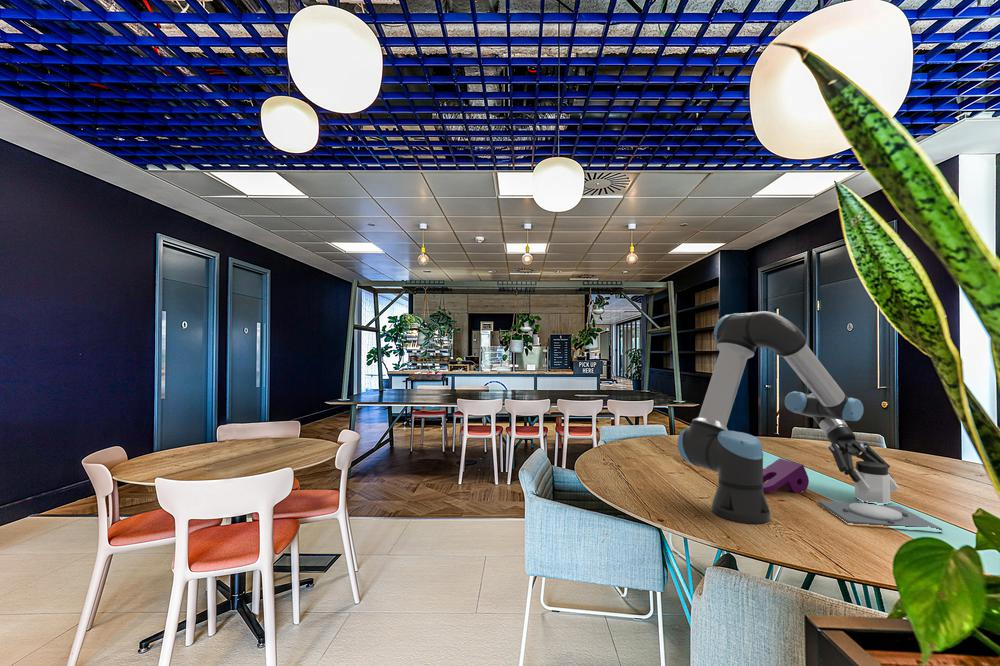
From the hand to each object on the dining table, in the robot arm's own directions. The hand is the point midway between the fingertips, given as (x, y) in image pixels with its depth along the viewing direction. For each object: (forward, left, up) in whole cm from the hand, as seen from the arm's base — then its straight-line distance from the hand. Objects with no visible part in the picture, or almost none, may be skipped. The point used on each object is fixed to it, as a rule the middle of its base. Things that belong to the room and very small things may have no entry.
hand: (881, 490), depth 145 cm
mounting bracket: (-27, +9, -5) cm, 29 cm away
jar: (-1, +3, -5) cm, 6 cm away
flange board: (-9, -14, -4) cm, 17 cm away
